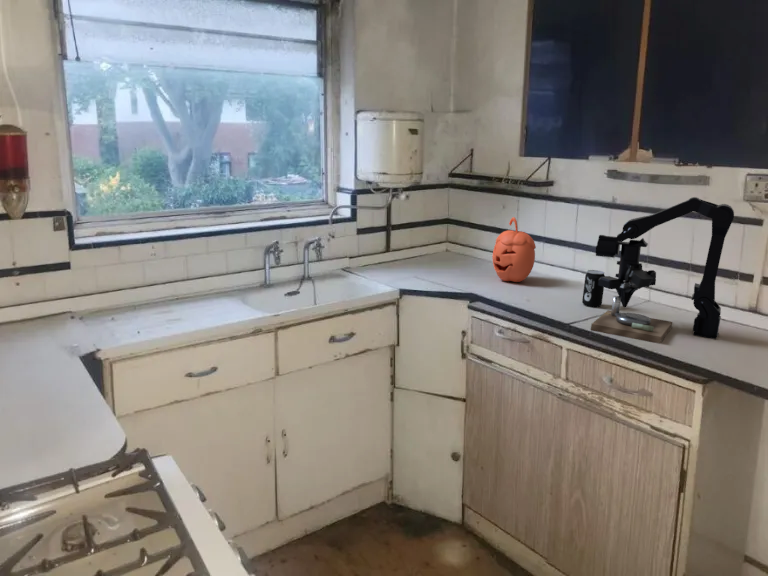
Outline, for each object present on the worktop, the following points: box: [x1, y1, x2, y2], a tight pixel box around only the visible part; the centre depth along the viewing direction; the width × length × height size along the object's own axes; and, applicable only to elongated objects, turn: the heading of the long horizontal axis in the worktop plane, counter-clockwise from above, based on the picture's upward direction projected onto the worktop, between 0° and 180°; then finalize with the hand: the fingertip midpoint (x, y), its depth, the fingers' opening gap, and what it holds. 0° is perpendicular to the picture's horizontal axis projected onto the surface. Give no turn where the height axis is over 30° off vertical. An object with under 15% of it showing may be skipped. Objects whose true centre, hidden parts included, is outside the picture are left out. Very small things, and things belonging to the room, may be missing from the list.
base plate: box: [590, 310, 673, 344], centre depth 210 cm, size 20×20×4 cm
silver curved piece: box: [610, 295, 651, 326], centre depth 211 cm, size 14×10×6 cm
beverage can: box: [582, 269, 606, 308], centre depth 235 cm, size 7×7×12 cm
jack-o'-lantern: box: [491, 216, 537, 283], centre depth 266 cm, size 18×17×25 cm
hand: (624, 307), depth 217 cm, fingers closed
